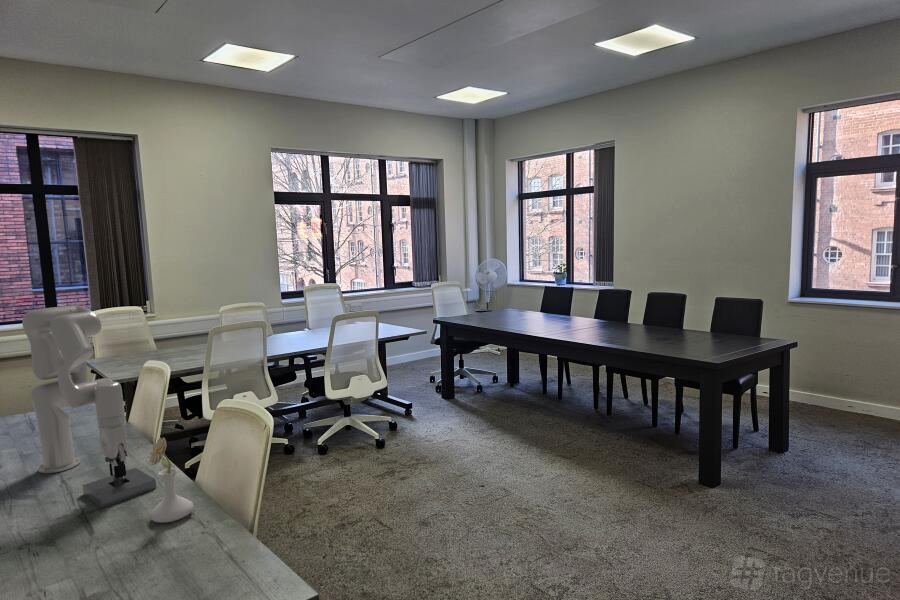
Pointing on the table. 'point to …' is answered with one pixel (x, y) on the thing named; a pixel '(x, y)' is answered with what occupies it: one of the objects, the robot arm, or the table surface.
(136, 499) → the table surface
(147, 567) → the table surface
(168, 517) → the flower in vase
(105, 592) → the table surface
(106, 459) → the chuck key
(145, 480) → the block
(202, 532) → the table surface
